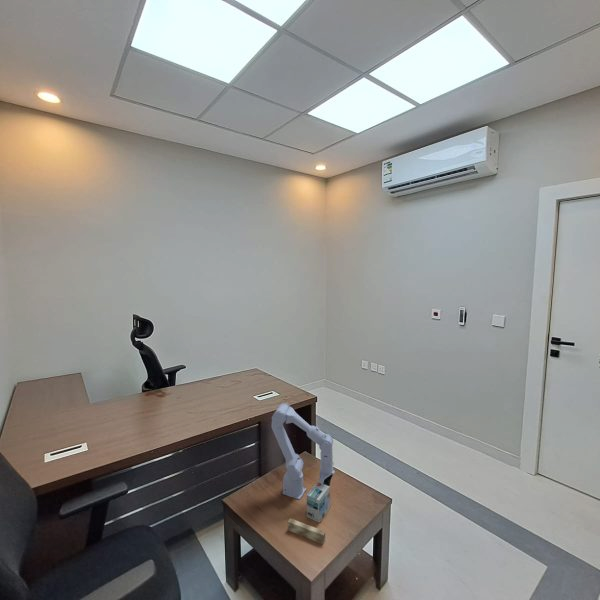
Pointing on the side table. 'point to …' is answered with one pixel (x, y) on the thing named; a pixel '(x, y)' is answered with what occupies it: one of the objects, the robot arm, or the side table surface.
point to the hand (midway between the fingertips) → (326, 487)
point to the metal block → (306, 531)
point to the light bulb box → (318, 502)
